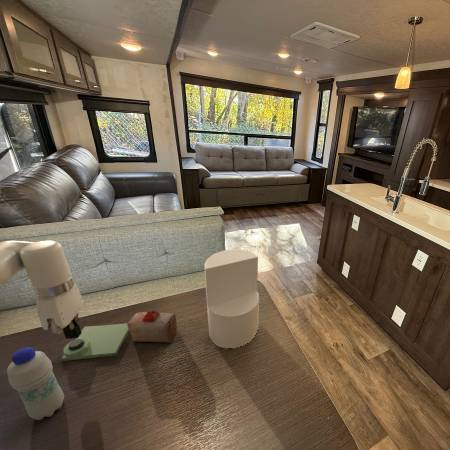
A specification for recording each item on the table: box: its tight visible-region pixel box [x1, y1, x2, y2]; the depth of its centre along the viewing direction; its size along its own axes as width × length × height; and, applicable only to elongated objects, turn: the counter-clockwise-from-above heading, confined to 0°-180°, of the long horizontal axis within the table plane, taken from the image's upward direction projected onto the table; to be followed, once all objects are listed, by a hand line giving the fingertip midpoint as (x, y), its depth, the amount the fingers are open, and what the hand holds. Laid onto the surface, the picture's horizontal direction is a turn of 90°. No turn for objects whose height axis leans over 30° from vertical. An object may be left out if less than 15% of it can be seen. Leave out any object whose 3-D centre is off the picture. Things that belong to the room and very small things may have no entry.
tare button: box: [69, 338, 83, 351], centre depth 74 cm, size 3×3×2 cm
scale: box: [61, 322, 130, 362], centre depth 79 cm, size 14×12×3 cm
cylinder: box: [203, 249, 260, 349], centre depth 84 cm, size 17×17×28 cm
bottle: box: [6, 346, 65, 421], centre depth 57 cm, size 7×7×20 cm
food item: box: [126, 307, 178, 344], centre depth 82 cm, size 14×8×10 cm, turn 92°
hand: (74, 336), depth 73 cm, fingers closed
